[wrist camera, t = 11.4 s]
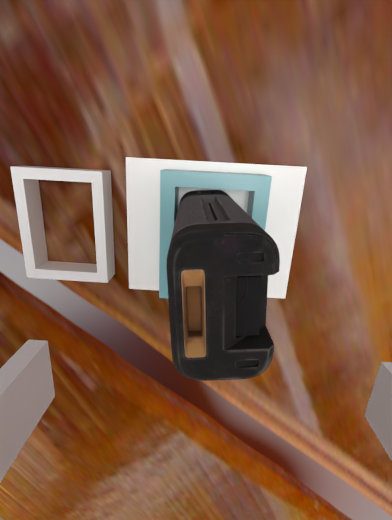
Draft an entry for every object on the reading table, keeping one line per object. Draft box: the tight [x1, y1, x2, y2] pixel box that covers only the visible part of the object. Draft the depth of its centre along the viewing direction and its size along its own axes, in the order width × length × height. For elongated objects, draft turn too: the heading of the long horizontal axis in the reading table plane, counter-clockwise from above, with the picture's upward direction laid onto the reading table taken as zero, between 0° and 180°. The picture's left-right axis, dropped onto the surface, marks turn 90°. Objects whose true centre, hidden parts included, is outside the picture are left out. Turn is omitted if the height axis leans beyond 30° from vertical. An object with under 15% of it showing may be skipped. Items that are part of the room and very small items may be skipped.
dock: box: [126, 157, 307, 299], centre depth 34 cm, size 20×16×5 cm
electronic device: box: [166, 190, 280, 380], centre depth 25 cm, size 9×6×20 cm, turn 1°
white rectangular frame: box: [10, 166, 115, 283], centre depth 35 cm, size 10×13×3 cm
